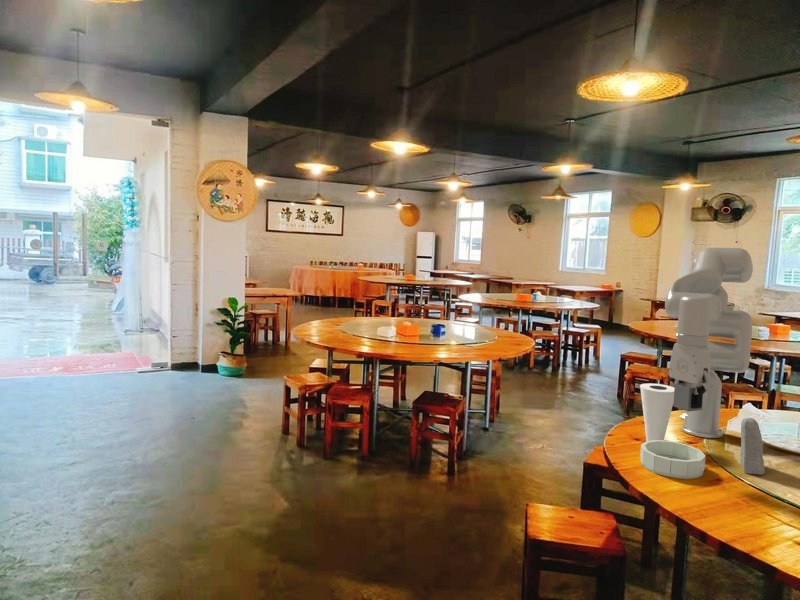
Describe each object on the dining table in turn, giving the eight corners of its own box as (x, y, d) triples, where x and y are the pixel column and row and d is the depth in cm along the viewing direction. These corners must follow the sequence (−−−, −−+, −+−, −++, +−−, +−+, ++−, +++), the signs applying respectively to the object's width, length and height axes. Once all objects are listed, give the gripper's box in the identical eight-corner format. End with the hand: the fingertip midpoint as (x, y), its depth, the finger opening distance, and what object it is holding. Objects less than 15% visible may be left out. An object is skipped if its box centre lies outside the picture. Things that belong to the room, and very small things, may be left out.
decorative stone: (735, 459, 162) (739, 410, 160) (758, 463, 159) (763, 413, 158) (740, 473, 152) (745, 421, 150) (766, 477, 150) (770, 424, 148)
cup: (629, 437, 179) (632, 384, 177) (657, 435, 182) (661, 382, 180) (651, 449, 169) (655, 392, 167) (680, 446, 171) (684, 391, 170)
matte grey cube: (673, 406, 153) (674, 383, 152) (687, 404, 154) (689, 382, 154) (687, 411, 148) (689, 388, 148) (701, 410, 150) (703, 387, 149)
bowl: (628, 459, 161) (629, 442, 160) (673, 454, 165) (674, 438, 165) (669, 481, 145) (670, 463, 145) (716, 475, 150) (718, 458, 149)
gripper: (657, 336, 156) (654, 397, 158) (707, 347, 140) (702, 415, 142) (678, 334, 159) (674, 395, 160) (729, 345, 142) (724, 413, 144)
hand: (687, 404), depth 151 cm, fingers closed on matte grey cube, 5 cm apart
